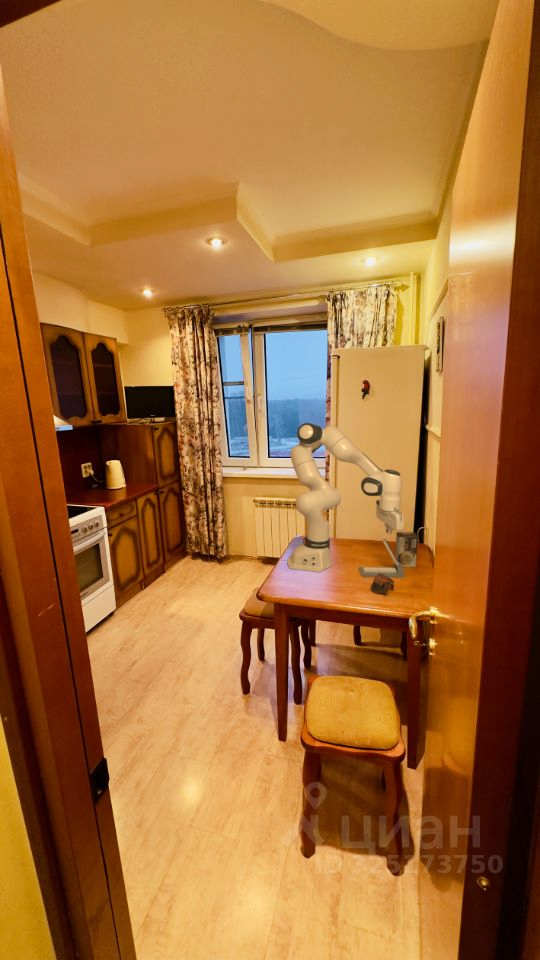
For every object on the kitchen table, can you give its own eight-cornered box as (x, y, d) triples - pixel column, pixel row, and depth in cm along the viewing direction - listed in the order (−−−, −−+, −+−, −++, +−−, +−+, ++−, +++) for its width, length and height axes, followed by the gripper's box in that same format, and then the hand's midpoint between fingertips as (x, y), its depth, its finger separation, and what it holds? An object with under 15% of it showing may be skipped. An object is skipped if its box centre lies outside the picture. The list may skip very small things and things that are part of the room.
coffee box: (412, 561, 186) (414, 532, 182) (416, 567, 179) (418, 537, 176) (394, 561, 186) (396, 531, 183) (397, 566, 180) (399, 536, 176)
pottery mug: (366, 586, 163) (373, 570, 164) (384, 595, 164) (392, 578, 164) (374, 594, 151) (383, 576, 152) (395, 604, 152) (403, 586, 152)
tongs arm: (397, 567, 175) (400, 565, 174) (399, 570, 171) (402, 568, 171) (381, 539, 172) (384, 537, 172) (383, 542, 169) (386, 540, 168)
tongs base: (361, 576, 171) (362, 568, 170) (358, 568, 179) (359, 560, 178) (405, 577, 170) (405, 569, 169) (400, 569, 177) (400, 561, 176)
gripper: (408, 511, 156) (406, 541, 160) (386, 498, 176) (384, 525, 179) (395, 512, 155) (393, 542, 159) (374, 499, 175) (373, 526, 178)
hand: (388, 533), depth 169 cm, fingers closed
